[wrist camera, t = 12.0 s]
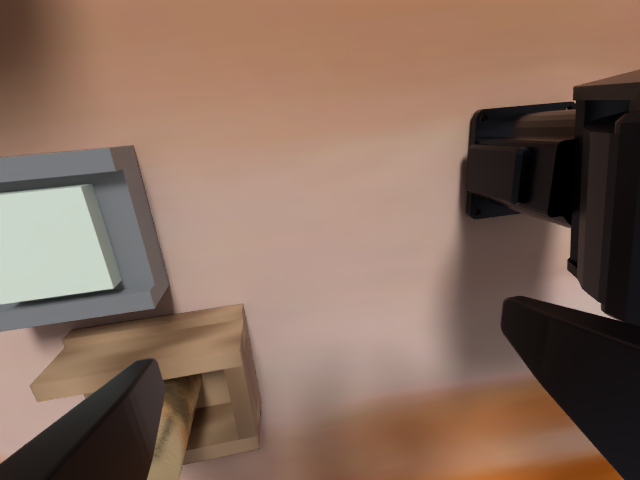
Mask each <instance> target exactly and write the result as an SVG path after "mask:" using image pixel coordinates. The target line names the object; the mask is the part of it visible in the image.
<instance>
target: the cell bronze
mask: <svg viewBox="0 0 640 480" xmlns="http://www.w3.org/2000/svg"><path fill="white" fill-rule="evenodd" d="M163 382H164V385H165V397H164V403H163V408H162V413H161V418H160V424H159V429H158V434H157V439H156V445H155V450H154V455H153V459H152V463H151V467H150V471H149V474H148V478H147V480H179V477H180V473H181V469H182V464H183V460H184V456H185V451H186V447H187V443H188V439H189V434H190V430H191V426H192V422H193V417H194V413H195V409H196V405H197V400H198V396H199V392H200V387H201V383H202V376H201V373H199V374H194V375H188V376H182V377H177V378H171V379H165V380H163Z"/></svg>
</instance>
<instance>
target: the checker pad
mask: <svg viewBox="0 0 640 480" xmlns="http://www.w3.org/2000/svg"><path fill="white" fill-rule="evenodd" d="M121 280H122V278H121V275H120V272H119V269H118V265H117V262H116V259H115V256H114V253H113V249H112V246H111V243H110V240H109V236H108V233H107V230H106V227H105V224H104V220H103V217H102V214H101V211H100V207H99V204H98V201H97V198H96V195H95V191H94V188H93V185H92V183H91V184H81V185H71V186H61V187H52V188H42V189H32V190H22V191H12V192H3V193H0V304H8V303H15V302H22V301H29V300H36V299H43V298H50V297H57V296H64V295H72V294H79V293H86V292H93V291H100V290H107V289H114V288H115V287H116V286H117V285H118V284H119V283H120V281H121Z"/></svg>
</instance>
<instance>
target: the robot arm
mask: <svg viewBox="0 0 640 480" xmlns="http://www.w3.org/2000/svg"><path fill="white" fill-rule="evenodd" d="M573 100H576V104H575V103H574V102H561V103H550V104H538V105H527V106H515V107H504V108H493V109H482V110H478V111H476V112H475V113H474V115H473V117H472V128H471V143H470V148H469V154H468V170H467V186H466V189H467V190H468V191H467V207H466V213H467V215H468V216H469V217H471V218H473V219H482V218H489V217H497V216H504V215H512V214H519V213H524V214H527V215H530V216H533V217H536V218H539V219H543V220H546V221H549V222H552V223H555V224H558V225H562V226H565V227H568V228H571V249H570V258H569V259H568V261H567V269H568V271H569V272H570V273H572V274H573V275H574V276H575V277H576V278H577V279H578V281H579V283H580V285H581V287H582V289H583V290H584V291H586V292H587V293H588V294H589V295H590V296H592V297H593V298H594V299H595V300H597V301H598V302H600V303H601V310H602V311H603V312H604V313H606V314H607V315H609V316H610V317H612V318H615V319H617V320H614V319H610V318H606V317H602V316H599V315H595V314H591V313H587V312H583V311H579V310H575V309H571V308H567V307H563V306H559V305H555V304H551V303H547V302H543V301H540V300H536V299H532V298H528V297H524V296H515V297H509V298H506V299H505V300H504V302H503V306H502V315H501V329H502V332H503V334H504V335H505V337H506V338H507V339H508V341H509V342H510V344H511V345H512V346H513V348H514V349H515V350H516V352H517V353H518V354H519V356H520V357H521V359H522V360H523V361H524V363H525V364H526V365H527V367H528V368H529V370H530V371H531V372H532V374H533V375H534V376H535V378H536V379H537V380H538V381H539V383H540V384H541V385H542V386H543V387H544V389H545V390H546V391H547V392H548V393H549V394H550V396H551V397H552V398H553V399H554V400H555V401H556V402H557V404H558V405H559V406H560V407H561V408H562V409H563V410H564V412H565V413H566V414H567V415H568V416H569V417H570V418H571V420H572V421H573V422H574V423H575V424H576V425H577V426H578V428H579V429H580V430H581V431H582V432H583V433H584V434H585V436H586V437H587V438H588V439H589V440H590V441H591V442H592V444H593V445H594V446H595V447H596V448H597V449H598V450H599V452H600V453H601V454H602V455H603V456H604V457H605V458H606V460H607V461H608V462H609V463H610V464H611V465H612V466H613V468H614V469H615V470H616V471H617V472H618V473H619V474H620V476H621V477H622V478H623V479H624V480H640V70H637V71H633V72H629V73H625V74H621V75H617V76H613V77H609V78H605V79H601V80H597V81H594V82H590V83H586V84H582V85H578V86H574V87H573ZM566 108H567V110H566ZM482 115H483V116H484V120H483V122H481V121H480V117H481V116H482ZM475 208H477V212H476V213H474V209H475ZM618 320H619V321H618ZM164 397H165V385H164V382H163V378H162V375H161V372H160V368H159V365H158V362H157V360H156V359H154V358H147V359H141V360H137V361H135V362H133V363H132V364H131V365H129V366H128V367H127V368H125V369H124V370H123V371H121V372H120V373H119V374H118V375H116V376H115V377H114V378H112V379H111V380H110V381H108V382H107V383H106V384H104V385H103V386H102V387H100V388H99V389H98V390H97V391H95V392H94V393H93V394H91V395H90V396H89V397H87V398H86V399H85V400H83V401H82V402H81V403H79V404H78V405H77V406H75V407H74V408H73V409H72V410H70V411H69V412H68V413H66V414H65V415H64V416H62V417H61V418H60V419H58V420H57V421H56V422H54V423H53V424H52V425H51V426H49V427H48V428H47V429H45V430H44V431H43V432H41V433H40V434H39V435H37V436H36V437H35V438H33V439H32V440H31V441H29V442H28V443H27V444H26V445H24V446H23V447H22V448H20V449H19V450H18V451H16V452H15V453H14V454H12V455H11V456H10V457H8V458H7V459H6V460H4V461H3V462H2V463H1V464H0V480H147V478H148V474H149V471H150V467H151V463H152V459H153V455H154V450H155V445H156V439H157V434H158V429H159V424H160V418H161V413H162V408H163V403H164Z"/></svg>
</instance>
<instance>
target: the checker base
mask: <svg viewBox="0 0 640 480" xmlns="http://www.w3.org/2000/svg"><path fill="white" fill-rule="evenodd" d="M91 183H92V185H93V188H94V191H95V195H96V198H97V201H98V204H99V207H100V211H101V214H102V217H103V220H104V224H105V227H106V230H107V233H108V236H109V240H110V243H111V246H112V249H113V253H114V256H115V259H116V262H117V265H118V269H119V272H120V275H121V278H122V280H121V281H120V283H119V284H118V285H117V286H116V287H115V288H114V289H107V290H100V291H93V292H86V293H79V294H72V295H64V296H57V297H50V298H43V299H36V300H29V301H22V302H15V303H8V304H0V332H2V331H8V330H15V329H22V328H28V327H35V326H42V325H48V324H55V323H62V322H68V321H75V320H82V319H88V318H95V317H102V316H108V315H115V314H122V313H128V312H135V311H142V310H148V309H155V307H156V306H157V304H158V302H159V301H160V299H161V298H162V296H163V294H164V293H165V291H166V289H167V288H168V286H169V281H168V278H167V274H166V270H165V266H164V262H163V258H162V254H161V251H160V247H159V243H158V239H157V235H156V231H155V228H154V224H153V220H152V216H151V212H150V208H149V204H148V201H147V197H146V193H145V189H144V185H143V181H142V177H141V174H140V170H139V166H138V162H137V158H136V154H135V151H134V147H133V145H132V146H121V147H110V148H98V149H87V150H76V151H65V152H54V153H43V154H32V155H21V156H9V157H0V193H3V192H12V191H22V190H32V189H42V188H52V187H61V186H71V185H81V184H91Z"/></svg>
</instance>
